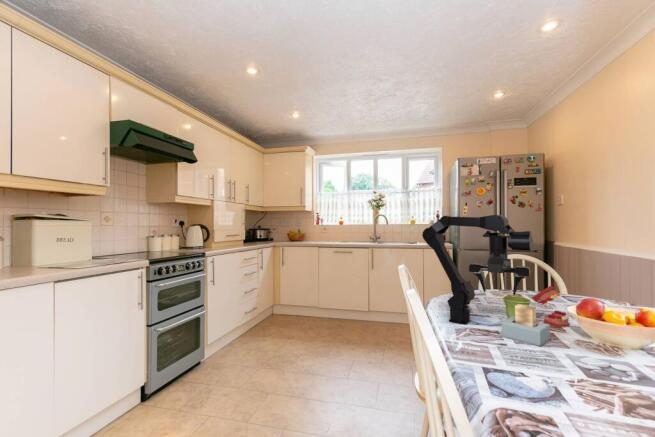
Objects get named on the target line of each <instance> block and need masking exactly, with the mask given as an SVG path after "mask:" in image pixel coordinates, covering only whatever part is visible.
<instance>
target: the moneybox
mask: <svg viewBox="0 0 655 437" xmlns="http://www.w3.org/2000/svg"><path fill="white" fill-rule="evenodd" d="M550 328H551V326H550V324H545V323H544V322H539V321H536V327H530V326H526V325H522V324H517V323H515V317H511V318H509V319H508V318H507V319H504V320H502V321H501V337H502V338H506V339H508V340H514V341H517V342H520V343H524V344H528V345H531V346H534V347H538V348H539V347H540V348H541V347H542V346H544V345H545V344H546V343H548V342H550V341H551V330H550Z"/></svg>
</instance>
